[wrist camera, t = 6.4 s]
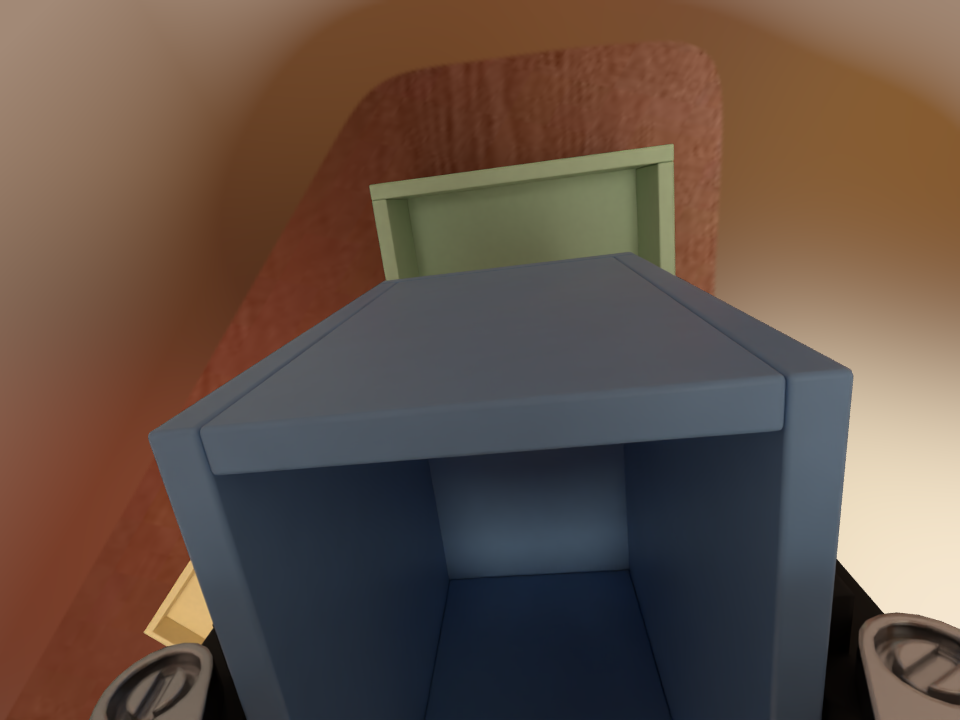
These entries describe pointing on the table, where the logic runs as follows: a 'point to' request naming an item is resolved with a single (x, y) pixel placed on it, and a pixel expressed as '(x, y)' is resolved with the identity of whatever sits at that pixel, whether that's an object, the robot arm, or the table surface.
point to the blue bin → (521, 504)
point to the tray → (182, 613)
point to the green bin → (529, 214)
